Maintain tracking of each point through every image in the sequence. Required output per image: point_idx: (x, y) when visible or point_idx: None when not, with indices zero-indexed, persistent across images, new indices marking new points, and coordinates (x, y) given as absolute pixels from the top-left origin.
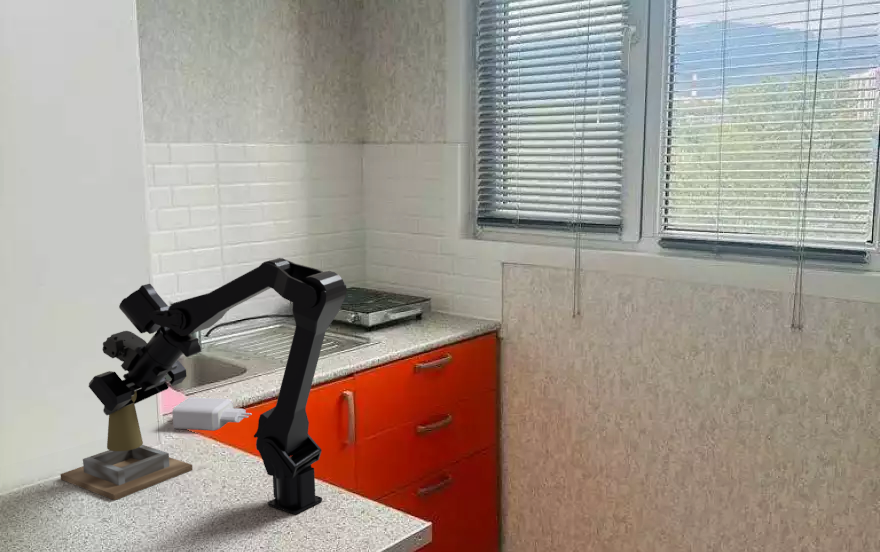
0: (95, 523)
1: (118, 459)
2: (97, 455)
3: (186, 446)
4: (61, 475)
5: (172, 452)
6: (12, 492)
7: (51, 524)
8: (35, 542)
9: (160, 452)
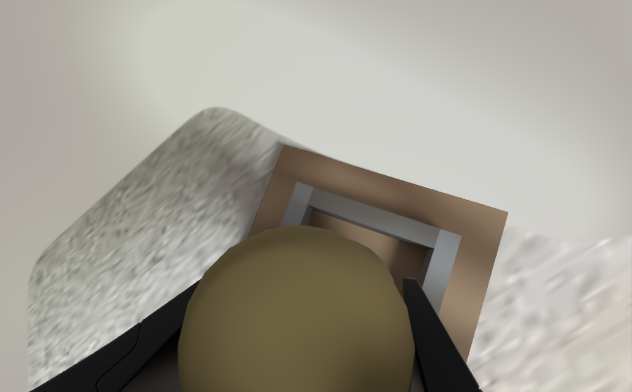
0: None
1: (383, 233)
2: (329, 202)
3: (608, 334)
4: (283, 149)
5: (540, 316)
6: (212, 107)
7: (97, 287)
8: (34, 309)
9: None
